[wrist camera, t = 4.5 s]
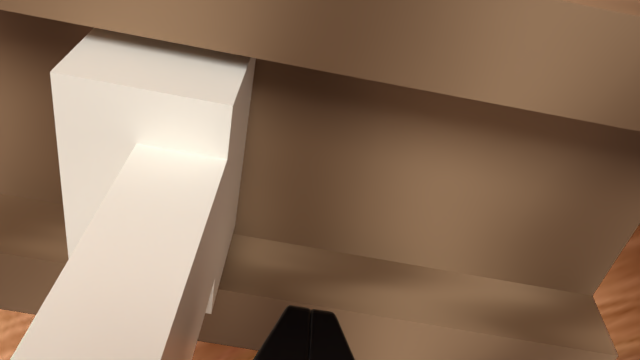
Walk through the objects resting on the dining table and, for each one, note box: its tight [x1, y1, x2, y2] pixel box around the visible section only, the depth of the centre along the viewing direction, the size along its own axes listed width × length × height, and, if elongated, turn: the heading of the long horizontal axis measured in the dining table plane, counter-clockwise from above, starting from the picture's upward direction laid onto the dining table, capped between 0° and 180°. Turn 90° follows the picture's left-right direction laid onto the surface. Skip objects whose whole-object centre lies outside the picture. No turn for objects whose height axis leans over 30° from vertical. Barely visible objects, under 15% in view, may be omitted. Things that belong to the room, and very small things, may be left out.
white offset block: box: [10, 28, 256, 360], centre depth 10 cm, size 3×5×8 cm, turn 170°
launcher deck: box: [0, 0, 640, 360], centre depth 15 cm, size 16×10×7 cm, turn 80°
